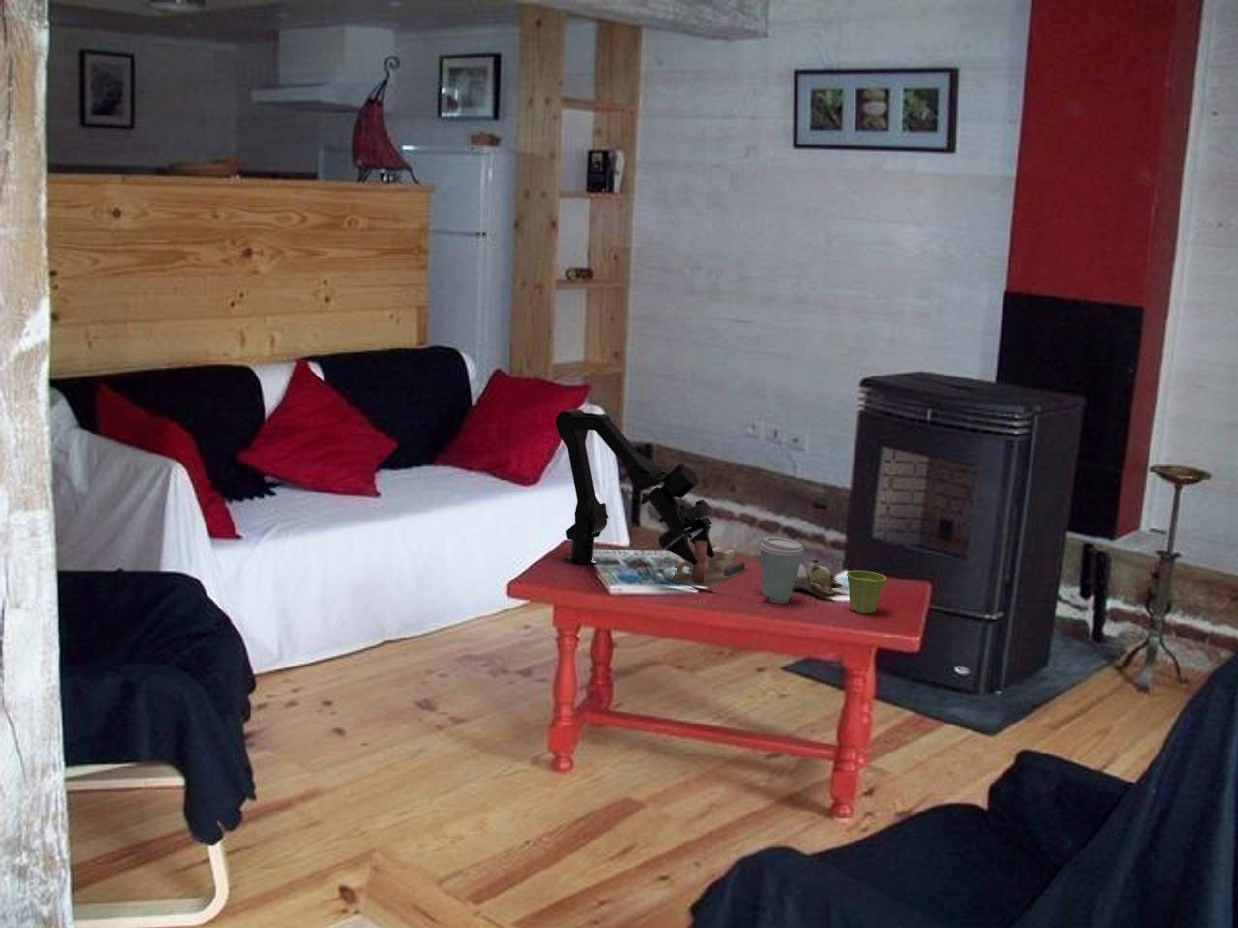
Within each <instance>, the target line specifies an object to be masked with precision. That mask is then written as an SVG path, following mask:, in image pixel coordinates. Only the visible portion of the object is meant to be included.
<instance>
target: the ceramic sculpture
mask: <svg viewBox="0 0 1238 928" xmlns="http://www.w3.org/2000/svg"><path fill="white" fill-rule="evenodd" d="M837 581H838V580H837V579H835V578H834V574H833V572H832V570H831V569H830V568H829V567H828V566H825V565H821V564H820V563H819V560H818V559H816V560H815V559H813V560H810V561H807V563H805V564H803V563H800V565H799V569H798V573H797V576H796V580H795V584H794V587H793V590H799V589H803V590H805V591H807V592H809V593H811V594H813V593H814V594H813V595H817V594H818V595H817V596H820V597H824V598H829V597H836V596H837V595H836V593H834V591H833V590H832V589H831V588H839V587H841V586H844V585H843V584H842V583H840V582H838V583H836V582H837ZM839 583H840V584H839ZM841 584H842V585H841Z"/></svg>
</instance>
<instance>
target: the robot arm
mask: <svg viewBox="0 0 1238 928" xmlns="http://www.w3.org/2000/svg"><path fill="white" fill-rule="evenodd" d="M554 421H555V422H554V423H555V427H556V430H557V432H558V435H559V437H560V439H561V441H562V442H563V443H564V445H565V447H566V449H567V454H568V460H569V464H570V472H571V475H572V480H573V481H572V482H573V486H574V491H575V496H576V501H577V502H576V505H575V511H574V523H573V524H572V525H571V526H569V527H568V529H566V530H565V535H566V539H567V540H570V541H571V545H570V546H571V547H570V555H566V556H565V558H566V560H568V561H569V562H570V563H572V564H573V565H592V564H591V563H590V562H591V560H592V558H593V557H594V546H595V538H598V537H600V535H601V533H602V531H604V530H605V528H606V527H607V525H608V519H609V515H608V511H607V504H606V503H605V502H603V503H600V501H599V500H598V498H597V496H596V491H595V487H594V486H595V485H594V480H593V475H592V471H591V465H590V460H589V455H588V450H587V445H586V444H587V443H586V441H587V438H588V433H589V431H594V432H595V433H596V434H598V435H597V436H599V437H600V438H601V440H602V441H603V442H604V444H606V445H607V447H608V448H609V449H610V450H611V451H612V453H614V455H615V456H616V457H617V459H618V460H619V461H621V463H622V465H623V467H625V472H626V475H627V477H628V479H629V480H630V482H631V483H632V485H633V487H634V488H635V489H637V490H641V491H645V490H648V489H651V488H653V489H652V490H650V491H649V492H644V493H642V498H641V505H643V506H644V505H645V504H646V505H647V504H649V503H650V504H651V505H652V507H653V509H654V510H655V511H656V513H657V514H658V516H659V517H660V518H659V519H658V522H659V523H660V524H663V523H664V524H665V526H666V527H667V529H668V530H666V531H665V532H664V533H663V534H662V535H661V536H659V537H658V543H657V544H658V545H659V546H660V548H661V549H662V550H664V549H666V551H667V552H668V551H669V552H671V553H672V554H675V556H678V557H679V558H681V559H683V560H685V561H688V562H690V563H692V564H693V565H696V564H697V563H698V561H697V559H696V557H695V555H694V551H693V550H692V548H691V547H690V544H689V543H688V540H689V539H690V540H689V542H691V544H693V545H694V546H695V541H697V540H701V541H706V542H707V553H706V557H710V558H713V557H714V552H713V547H712V544H711V541H710V537H709V534H710V530H711V528H712V526H711V525H712V524H713V522H712V521H711V519H710V518H709V517H708V516H710V515H711V514H710V512H709V511H710V508H711V506H710V505H709V504H708V502H706V500H705V499H701V500H700V499H699V500H696V501H695V505H693V506H691V507H688V506H687V505H685V504H684V503H683V504H680V503H679V501H678V500H677V498H679V499H682V498H684V497H685V496H686V495H688V493H690V492H691V491H692V490H693V489H695V488H696V487H697V486H698V485H699V484H700V480H699V478H698V477H699V476H698V475H697V474H696V472H695V471H693V470H692V469H690V468H689V467H687V466H686V465H685V464H684V463H683V462H682V463H679V464H677V465H676V466H675V468H674V469H673V470H672V471H670V472H666V471H664V470H661V468H660V467H659V466H658V465H657V464H655V463H654V462H653V461H652V460H651V459H649V458H647V457H646V456H643V455H642V454H640V453H639V451H638V450H636V448H635V447H634V445H632V444H631V442H630V441H629V440H628V439H627V437H625V435H624V434H623V432H621V430H620V429H619V428H618V427H617V425H615V423H614V422H613V421H612V419H611V417H610V416H609V415H608V414H605V413H601V414H598V413H592V412H585V411H583V410H581V409H580V408H574V409H568V410H563V411H560V412H559V413H558V415H556V417H555V420H554ZM661 484H663V485H662V486H661V487H659V485H661ZM593 559H594V558H593Z"/></svg>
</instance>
